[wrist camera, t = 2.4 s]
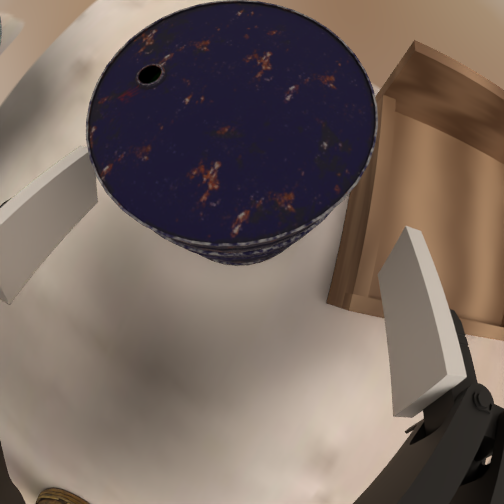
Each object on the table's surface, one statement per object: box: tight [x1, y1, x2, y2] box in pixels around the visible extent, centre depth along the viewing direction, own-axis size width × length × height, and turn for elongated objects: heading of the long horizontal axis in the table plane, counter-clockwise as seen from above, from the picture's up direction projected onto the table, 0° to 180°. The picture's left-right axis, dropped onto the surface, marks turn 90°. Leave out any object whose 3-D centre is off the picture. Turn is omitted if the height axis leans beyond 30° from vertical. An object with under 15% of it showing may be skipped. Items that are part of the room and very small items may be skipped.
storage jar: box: [86, 0, 378, 266], centre depth 16 cm, size 10×10×15 cm
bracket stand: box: [327, 40, 504, 341], centre depth 18 cm, size 16×16×11 cm
